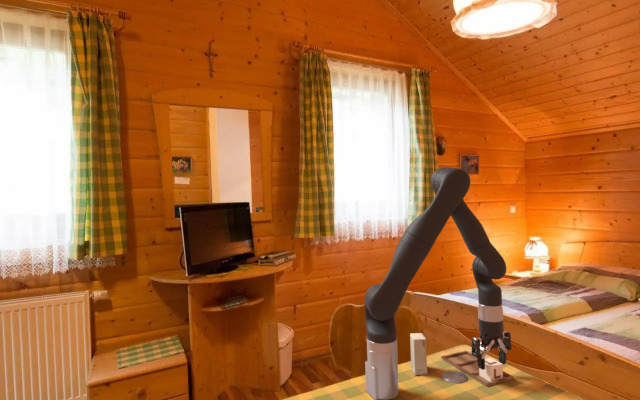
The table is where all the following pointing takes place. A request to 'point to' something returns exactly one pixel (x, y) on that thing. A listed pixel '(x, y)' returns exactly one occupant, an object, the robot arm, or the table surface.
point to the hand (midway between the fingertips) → (492, 366)
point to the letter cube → (492, 370)
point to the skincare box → (418, 353)
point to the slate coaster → (454, 376)
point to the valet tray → (471, 367)
